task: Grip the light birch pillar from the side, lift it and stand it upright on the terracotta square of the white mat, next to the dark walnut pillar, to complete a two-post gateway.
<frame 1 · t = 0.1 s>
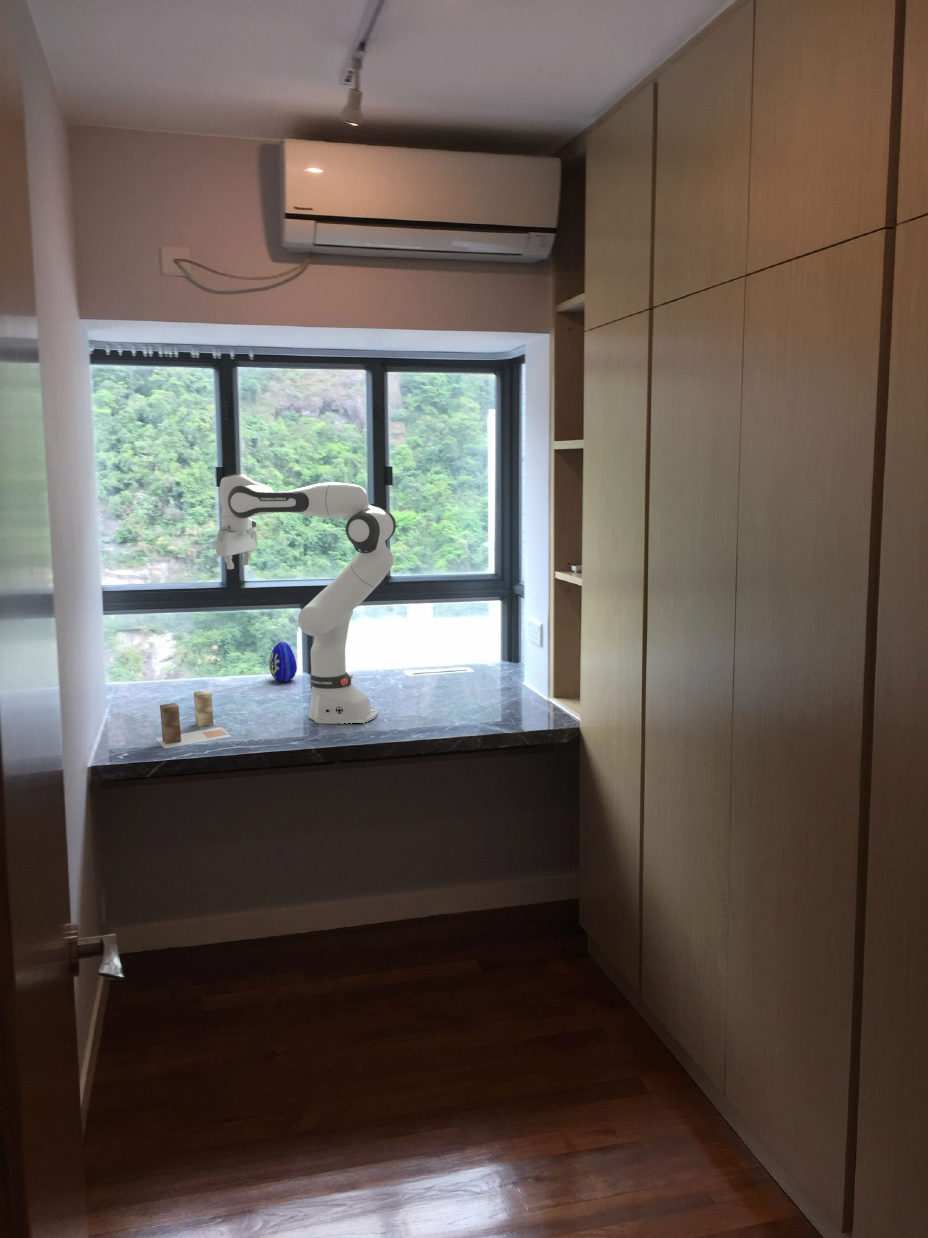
hand: (238, 567, 308), 48 cm above the counter, tool pointing down, fingers open, 8 cm apart
ornament: (284, 681, 352), on the counter
white mat: (193, 739, 286), on the counter
birch pillar: (204, 726, 299), on the counter
walnut pillar: (171, 741, 283), resting on white mat
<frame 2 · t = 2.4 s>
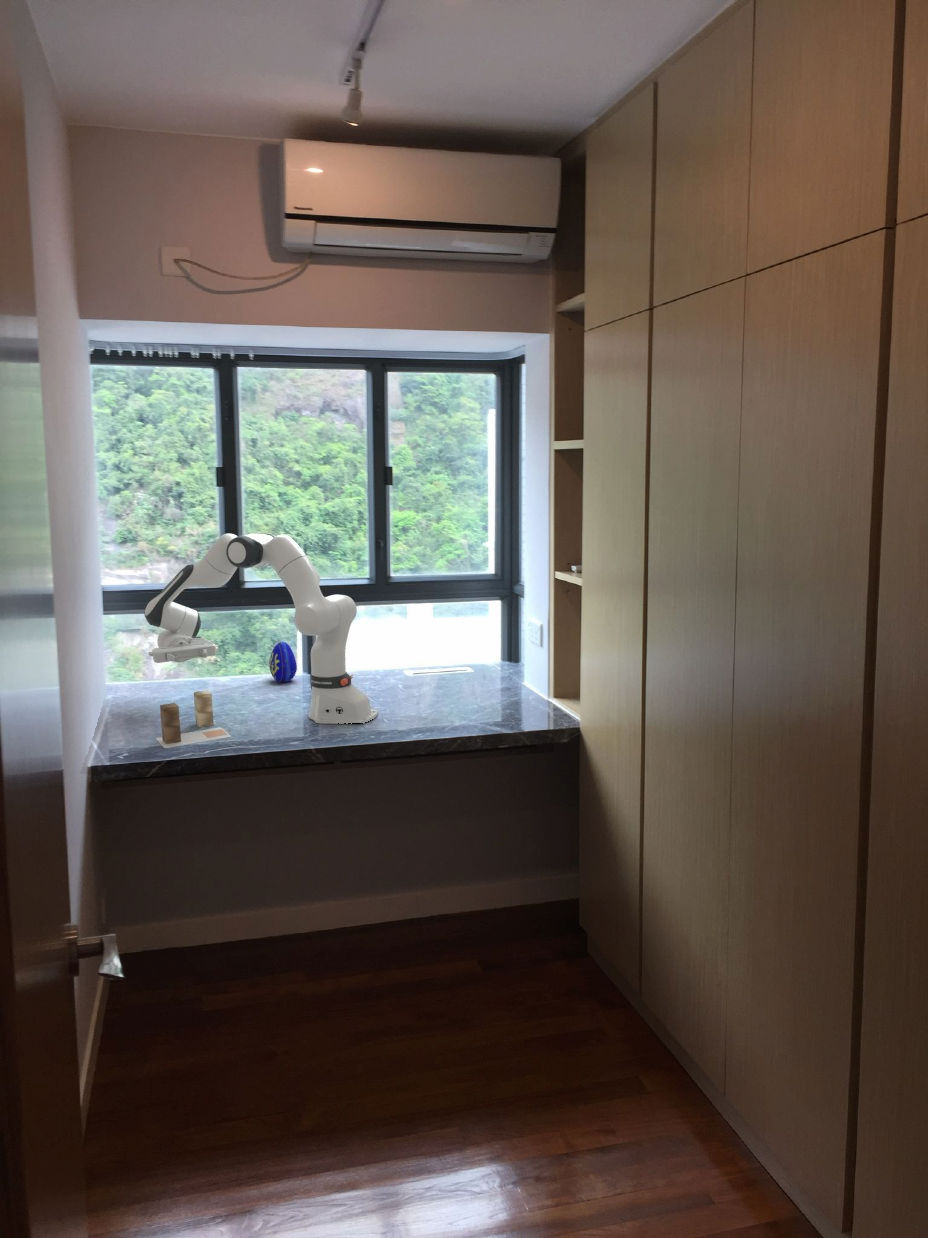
hand: (190, 657, 305), 20 cm above the counter, tool horizontal, fingers open, 8 cm apart
nothing on the counter moved.
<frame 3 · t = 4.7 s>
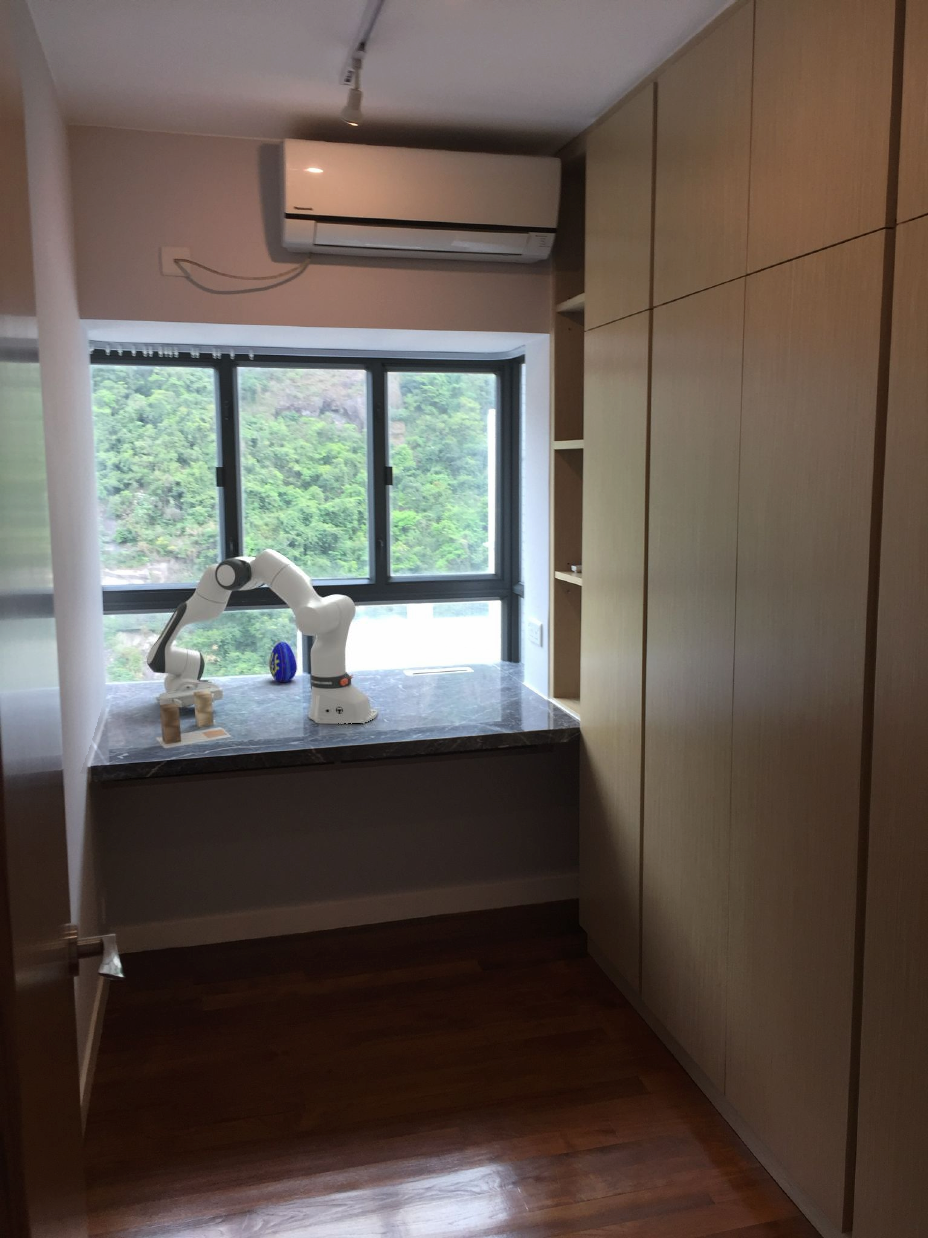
hand: (197, 702, 304), 6 cm above the counter, tool horizontal, fingers open, 8 cm apart
nothing on the counter moved.
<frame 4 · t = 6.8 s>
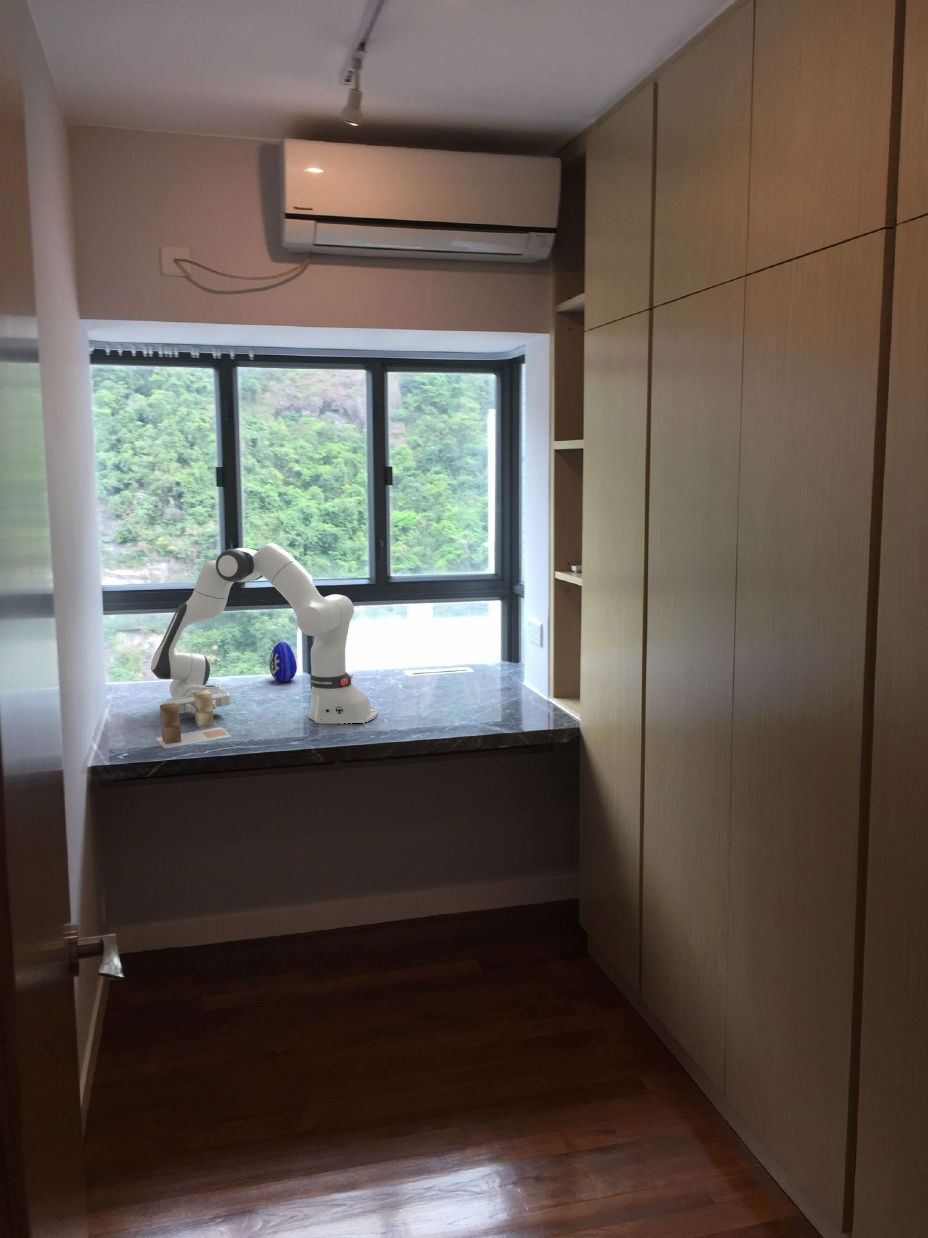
hand: (204, 708, 297), 6 cm above the counter, tool horizontal, fingers closed on birch pillar, 4 cm apart
birch pillar: (204, 726, 299), on the counter, touching gripper
everything else where it was.
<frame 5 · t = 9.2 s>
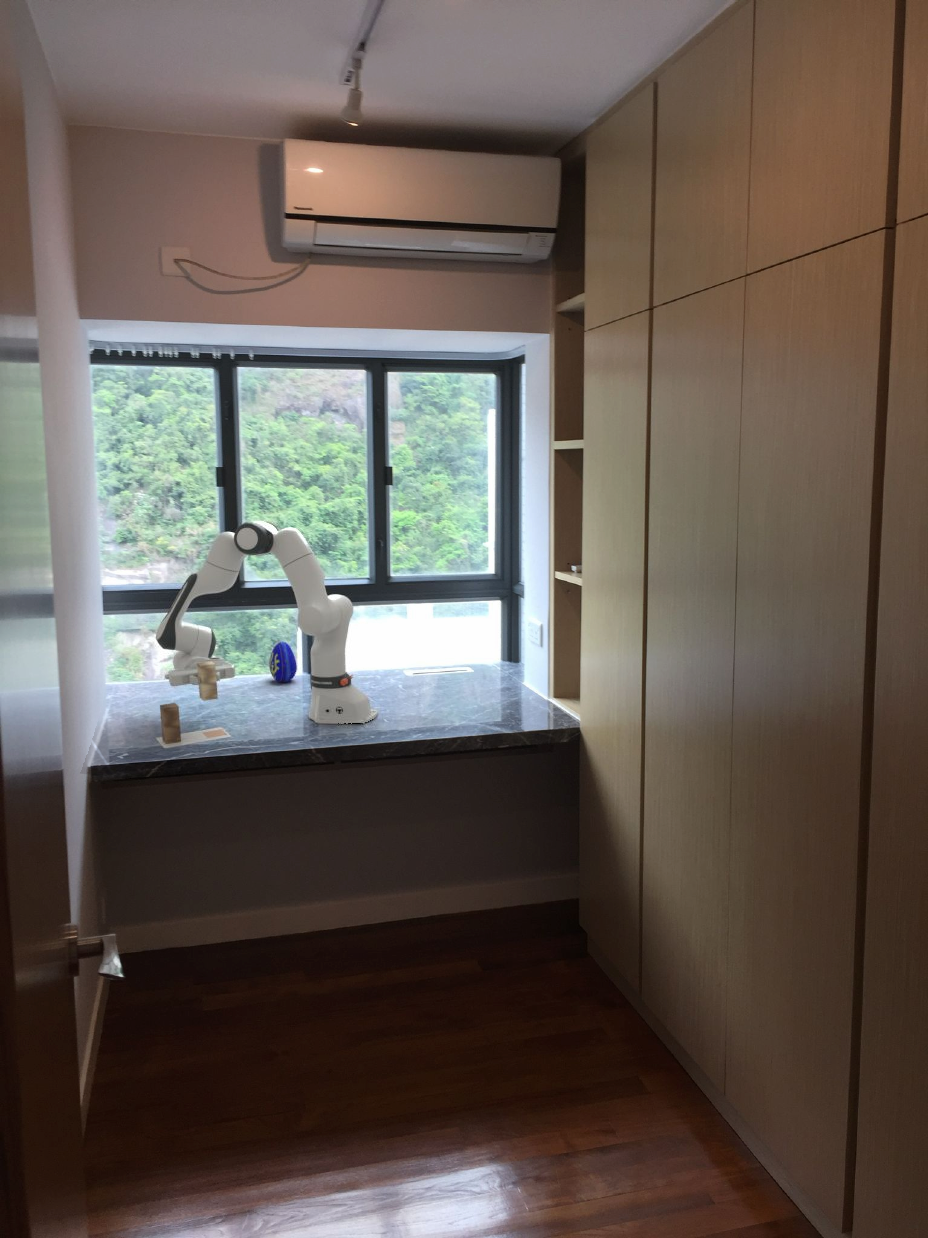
hand: (208, 679, 290), 17 cm above the counter, tool horizontal, fingers closed on birch pillar, 4 cm apart
birch pillar: (208, 698, 292), point 11 cm above the counter, touching gripper
everything else where it was.
when the fingers open (8 cm above the counter, at t = 11.7 s): birch pillar drops 1 cm, resting on white mat.
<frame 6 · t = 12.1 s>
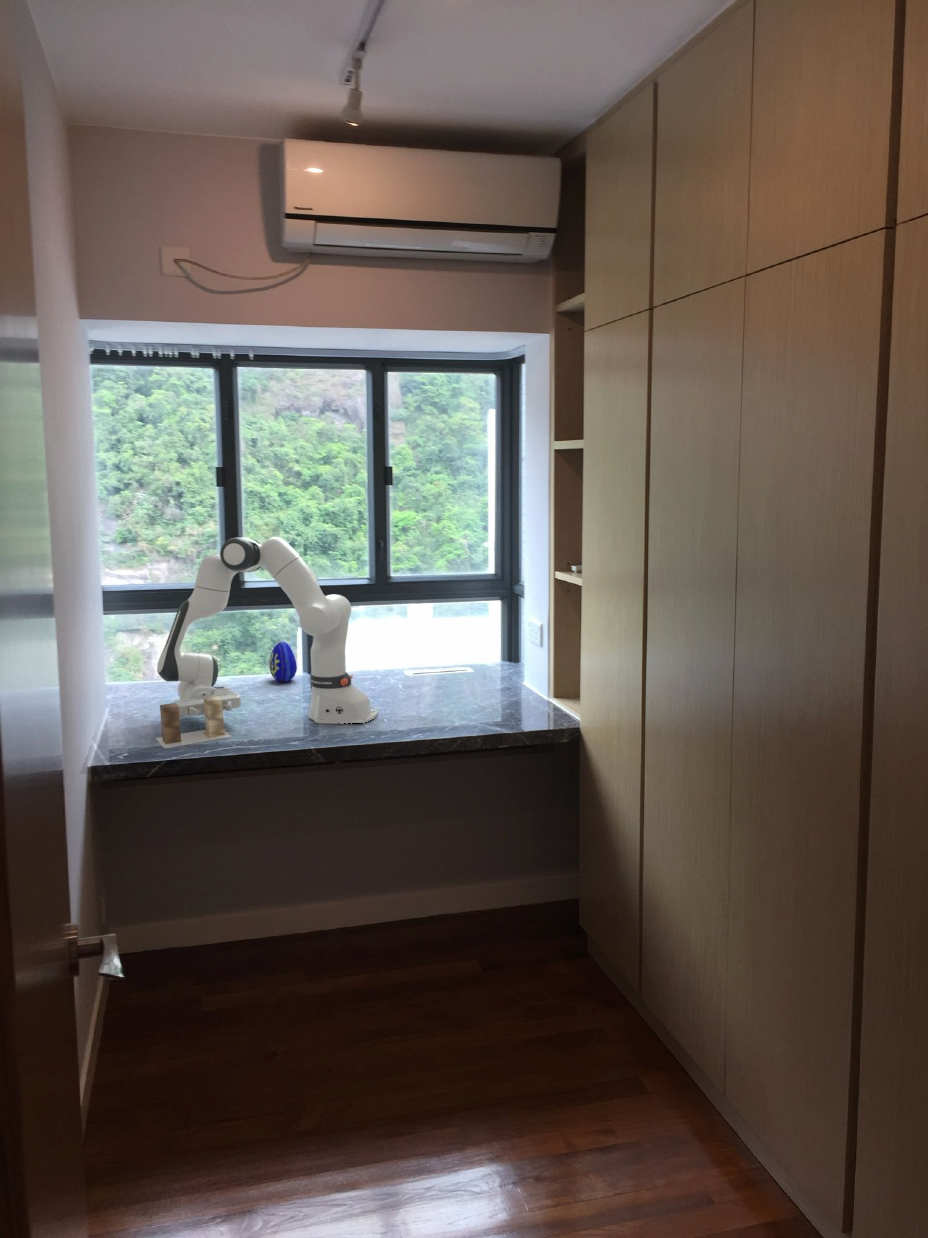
hand: (214, 710, 287), 8 cm above the counter, tool horizontal, fingers open, 8 cm apart
birch pillar: (215, 733, 289), point 1 cm above the counter, touching white mat
everything else where it was.
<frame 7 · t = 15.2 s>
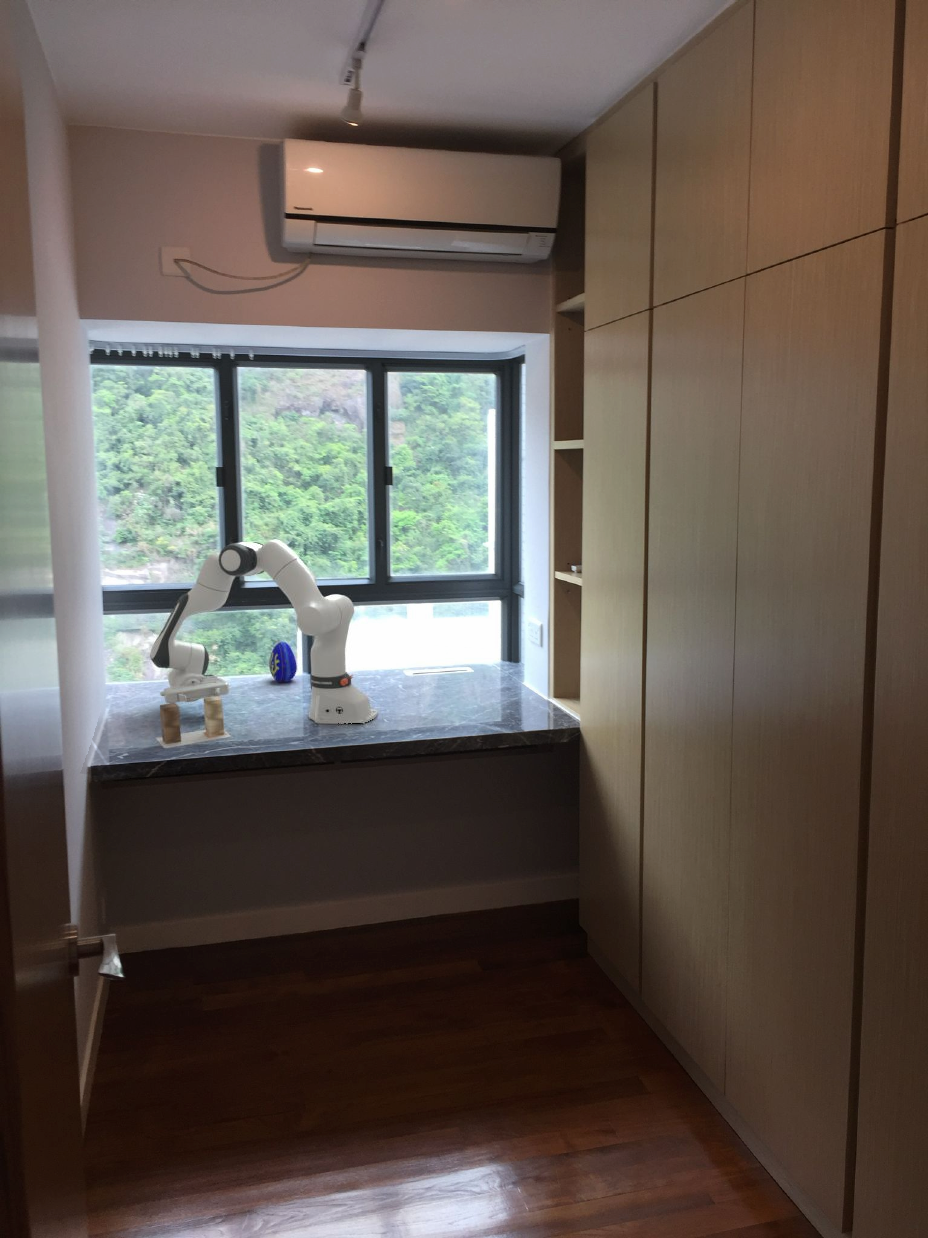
hand: (202, 697, 298), 9 cm above the counter, tool horizontal, fingers open, 8 cm apart
nothing on the counter moved.
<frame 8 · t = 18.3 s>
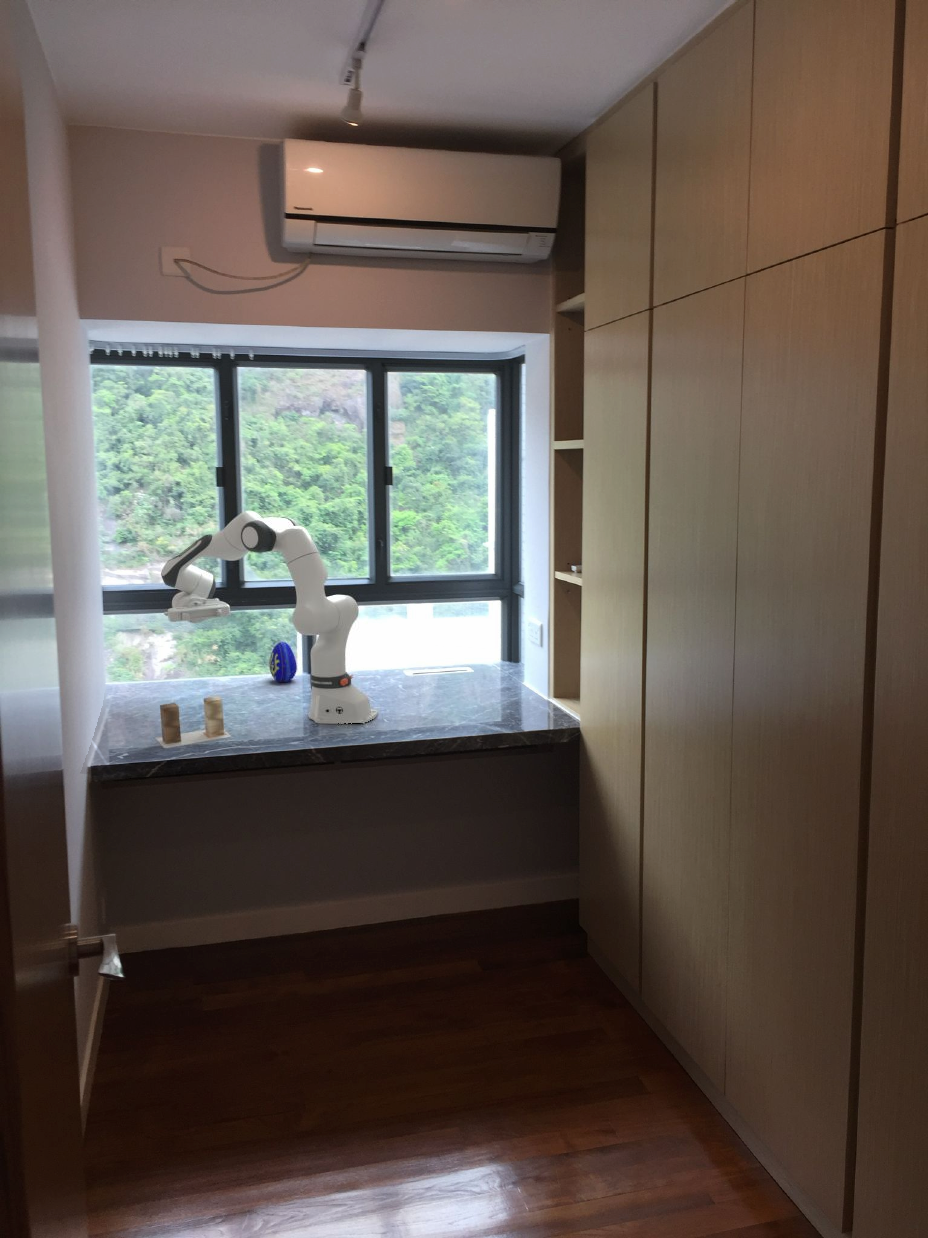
hand: (205, 616, 310), 32 cm above the counter, tool horizontal, fingers open, 8 cm apart
nothing on the counter moved.
at the end: birch pillar 0.1 cm from the target spot on the white mat, point 0.6 cm above the white mat's base; birch pillar tilted 0°; the gripper is holding nothing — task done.
